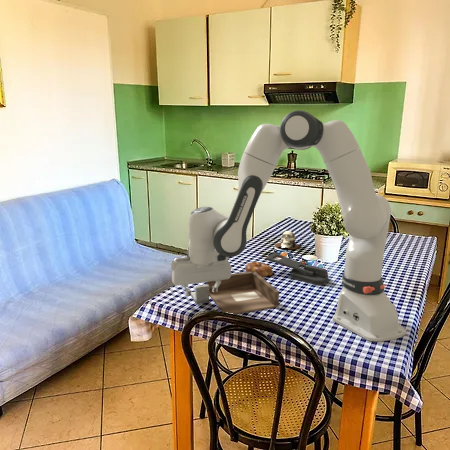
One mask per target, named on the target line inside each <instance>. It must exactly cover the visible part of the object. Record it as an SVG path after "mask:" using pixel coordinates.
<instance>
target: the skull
mask: <svg viewBox="0 0 450 450" xmlns="http://www.w3.org/2000/svg"><path fill="white" fill-rule="evenodd" d="M280 241H281V242H278V243H276V244H274V246H275V247H276V248H278V247H285V248H288V249H287V250H298V249H300V247H301V246H300V245H299V246H297V245H298V244H297V245H295V243H296V235H295V233H294V232H293V231H290V230H285V231H284V232H283V233H282V235H281V238H280Z"/></svg>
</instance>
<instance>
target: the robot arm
mask: <svg viewBox="0 0 450 450" xmlns="http://www.w3.org/2000/svg"><path fill="white" fill-rule="evenodd" d="M312 147H313V148H316V150H317V151H318V152H319V154H320V155H321V158H322V159H323V163H324V164H325V168H326V169H327V171H328V174H329V175H330V178H331V180H332V184H333V186H334V189H335V192H336V196H337V199H338V204H339V206H340V210H341V214H342V217H343V226H344V229H345V231H346V232H347V234H348V235H349V237H348V241H347V242H348V243H347V246H346V249H345V258H344V259H345V262H344V271H343V273H342V277H341V285H342V287H341V291H340V293H339V295H338V300H337V306H336V310H335V314H333V316H332V321H333V322H334V323H336V324H338V325H339V326H341V327H343V328H345V329H347V330H349V331H351V332H353V333H354V334H356V335H358V336H359V337H361V338H363V339H365V340H367V341H371V342H385V341H392V340H396V339H399V338H402V337H404V336H405V335H406V333H407V329H406V328H405V327H403V326H402V325H401V324H400V323H399V313H398V311H397V310H396V309H397V308H396V305H395V304H394V303H392V302H391V300H390V298H389V297H388V295H387V294H386V293H385V289H387V288H388V287H387V286H388V284H384V280H383V276H382V272H383V264H384V263H383V262H384V256H385V255H384V254H385V250H386V244H387V243H386V242H387V239H388V233H389V227H390V222H391V214H392V211H391V209H392V208H391V205H390V202H389V201H388V199H387V198H386V197H384V196H383V195H381V194H377V193H376V189H375V185H374V182H373V177H372V172H371V170H370V167H369V166H368V163H367V160H366V159H365V156H364V154H363V151H362V150H361V149H362V148H361V146H360V144H359V143H358V141H357V139H356V137H355V135H354V134H353V132H352V130H351V129H350V128H349V126H348V125H347V124H346V123H345V121H343V120H341V119H334V120H333V119H332V120H329V121H327V122H325V123H323V122H322V121H321V120H320V119H319V118H316V117H315V116H314V115H313V114H311V113H310V112H308V111H306V110H301V109H298V110H297V109H296V110H293V111H290V112H289V113H287V114H286V115H285V116H283V118H282V120H281V123H280V125H275V124H272V123H262V124H260V125H258V126H257V128H256V129H255V130H254V132H253V134H252V135H251V137H250V138H249V140H248V142H247V145H246V146H245V149H244V151H243V153H242V156H241V157H240V158H241V159H240V162H239V165H238V170H237V178H238V179H237V180H238V186H237V187H238V189H237V190H238V191H237V195H236V198H235V201H234V203H233V206H232V208H231V211H230V214H229V215H226V214H223V213H221V212H219V211H217V210H216V209H214V208H213V207H211V206H202V207H198V208H195V209H193V210H192V211H191V213H189V218H188V225H187V226H188V230H187V231H188V232H187V233H188V234H187V235H188V237H189V241H188V256H183V257H175V258H174V259H173V260H172V261H171V264H170V265H171V267H170V268H171V271H172V273H171V281H172V283H173V284H174V285H175V286H176V287H177V286H182V287H183V289H184V290H185V296H186V297H191V292H192V290H191V289H189V288H188V287H189V285H192V284H193V285H194V284H201V283H206V282H210V281H216V283H215V285H214V286H212V291H213V292H218V287H219V285H220V283H221V280H225V279H229V278H230V277H231V274H232V266H231V262H230V261H229V258H233V257H237V256H239V255H240V254H242V253H243V252H244V251H245V249H246V246H247V230H248V226H249V224H250V221H251V218H252V216H253V214H254V211H255V208H256V205H257V203H258V200H259V199H260V196H261V194H262V193H263V190H264V189H265V187H266V185H267V184H268V182H269V181H270V179H271V177H272V175H273V173H274V171H275V168H276V166H277V164H278V163H279V160H280V158H281V155H282V153H283V152H284V151H285V150H287V149H289V150H296V151H297V150H298V151H303V150H304V151H305V150H308V149H310V148H312Z"/></svg>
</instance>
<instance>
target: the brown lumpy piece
mask: <svg viewBox="0 0 450 450" xmlns="http://www.w3.org/2000/svg"><path fill="white" fill-rule="evenodd" d="M244 270H245V272H250V271H255V272H256V273H258V274H259V275H260V276H261V277H262V278H264V277H270V276H273V274H274V270H273V269H272V267H271V265H269V264H267V263H265V262H262V263H261V262H259V261H252V262H248V263H247V264H246V265H245V267H244Z"/></svg>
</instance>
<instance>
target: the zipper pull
mask: <svg viewBox="0 0 450 450" xmlns="http://www.w3.org/2000/svg"><path fill="white" fill-rule="evenodd" d="M277 258H280V259H277ZM266 261H269V262H272V263H275V264H278V265H281V266H283V267H284V266H285V267H287V268H290V269H291V270H290V279H293V280H295V281H296V280H297V281H300V282H303V283H306V284H307V283H308V284H310V285H313V286H314V285H315V286H323V285H326V284H327V283H329V274H328V271H327V269H326V268H323V267H319V266H315V265H310V264H304V263H302V262H301V261H297V260H294V259H292V258H289V257H287V256H285V255H281V254H280V253H277V252H274V253H270V254H269V255H268V256H267V257H266Z"/></svg>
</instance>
